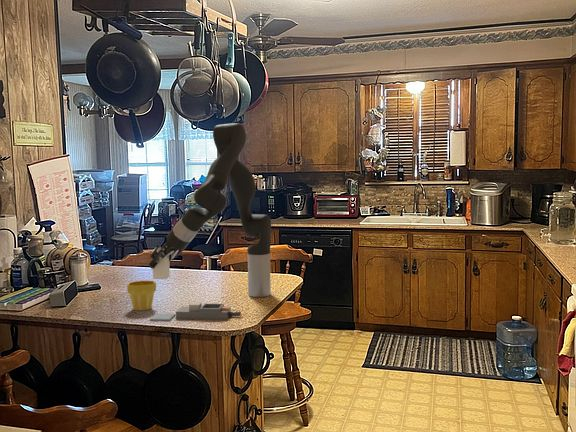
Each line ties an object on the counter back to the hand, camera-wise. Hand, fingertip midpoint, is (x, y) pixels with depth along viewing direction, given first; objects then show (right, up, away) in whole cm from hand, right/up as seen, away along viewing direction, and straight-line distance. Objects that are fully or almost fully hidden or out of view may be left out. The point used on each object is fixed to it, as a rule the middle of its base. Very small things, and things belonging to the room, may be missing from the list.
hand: (157, 265), depth 198 cm
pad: (+2, -19, +1) cm, 19 cm away
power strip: (+18, -18, +2) cm, 26 cm away
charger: (+2, -4, 0) cm, 5 cm away
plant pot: (-9, -18, +15) cm, 25 cm away
